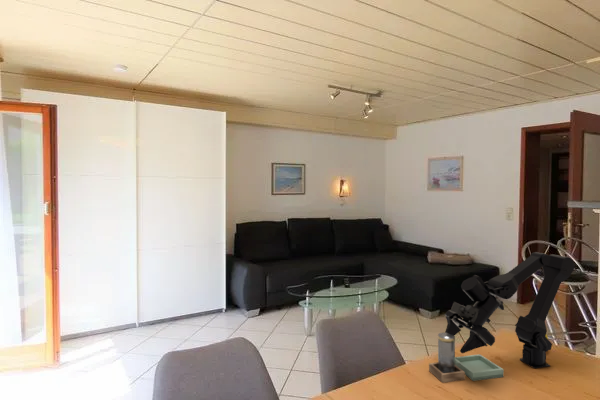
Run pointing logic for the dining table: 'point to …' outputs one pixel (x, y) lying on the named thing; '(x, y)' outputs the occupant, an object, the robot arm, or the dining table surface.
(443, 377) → the holder
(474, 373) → the tray
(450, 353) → the grey cylindrical piece
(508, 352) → the dining table surface
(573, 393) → the dining table surface
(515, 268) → the robot arm
